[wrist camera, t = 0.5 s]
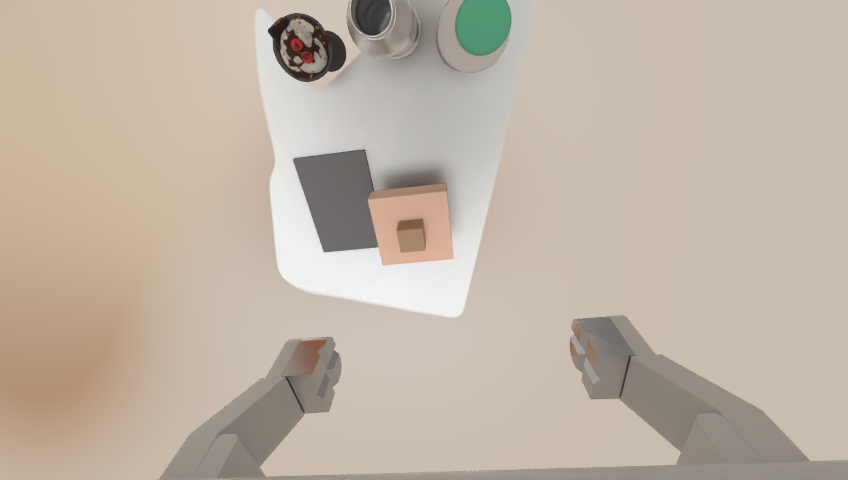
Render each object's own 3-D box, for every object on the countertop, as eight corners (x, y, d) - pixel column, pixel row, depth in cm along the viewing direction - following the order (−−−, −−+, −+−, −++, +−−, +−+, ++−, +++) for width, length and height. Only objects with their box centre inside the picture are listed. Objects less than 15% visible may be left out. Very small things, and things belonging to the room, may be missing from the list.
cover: (371, 191, 46) (363, 208, 41) (446, 182, 45) (447, 199, 40) (385, 254, 52) (379, 276, 46) (452, 247, 51) (454, 270, 45)
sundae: (359, 71, 45) (328, 75, 32) (315, 82, 46) (268, 90, 33) (343, 17, 42) (302, -3, 29) (297, 30, 43) (237, 16, 30)
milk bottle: (497, 5, 41) (541, -37, 24) (488, 72, 45) (521, 78, 28) (438, 2, 41) (439, -42, 24) (434, 69, 45) (433, 73, 28)
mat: (294, 158, 52) (292, 159, 52) (364, 149, 51) (364, 150, 50) (324, 250, 61) (323, 252, 60) (385, 244, 60) (385, 246, 59)
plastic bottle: (430, 41, 43) (427, 26, 26) (390, 69, 45) (361, 73, 28) (406, -10, 41) (383, -64, 23) (363, 22, 43) (313, -5, 25)
